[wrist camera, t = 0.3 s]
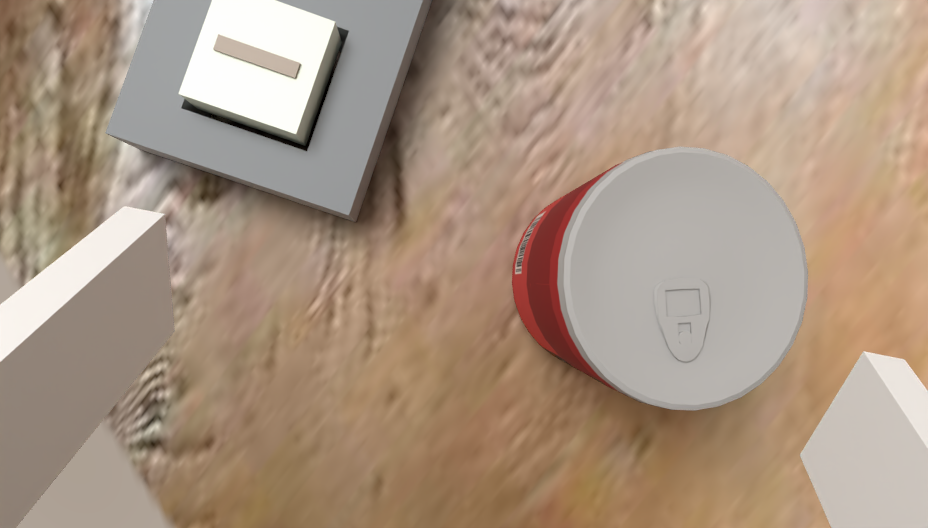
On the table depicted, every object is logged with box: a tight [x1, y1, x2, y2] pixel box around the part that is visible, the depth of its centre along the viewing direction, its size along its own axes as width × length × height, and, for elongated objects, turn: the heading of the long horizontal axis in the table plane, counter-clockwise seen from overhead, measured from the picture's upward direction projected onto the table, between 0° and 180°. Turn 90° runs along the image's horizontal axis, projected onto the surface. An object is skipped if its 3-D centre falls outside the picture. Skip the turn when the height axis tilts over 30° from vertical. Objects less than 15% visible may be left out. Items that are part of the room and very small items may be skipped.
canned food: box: [512, 147, 808, 410], centre depth 25 cm, size 8×8×11 cm
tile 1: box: [178, 0, 342, 146], centre depth 26 cm, size 5×5×2 cm
